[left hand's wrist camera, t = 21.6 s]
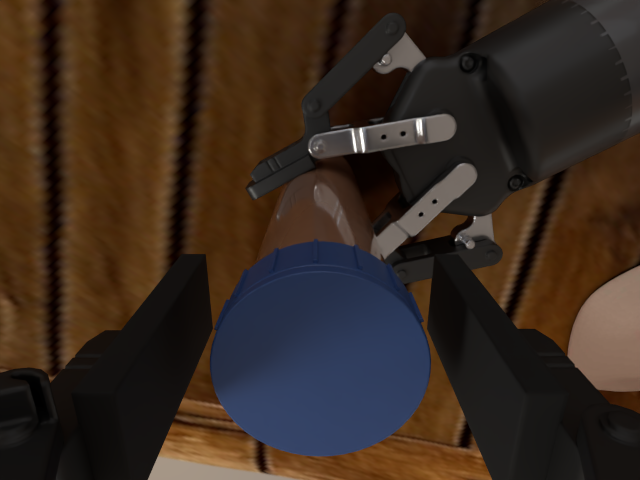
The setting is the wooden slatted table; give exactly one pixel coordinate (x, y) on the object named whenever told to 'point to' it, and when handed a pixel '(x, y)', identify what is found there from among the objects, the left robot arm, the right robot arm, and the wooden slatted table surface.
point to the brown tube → (321, 211)
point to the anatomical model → (610, 335)
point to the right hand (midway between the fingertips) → (277, 232)
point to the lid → (320, 350)
